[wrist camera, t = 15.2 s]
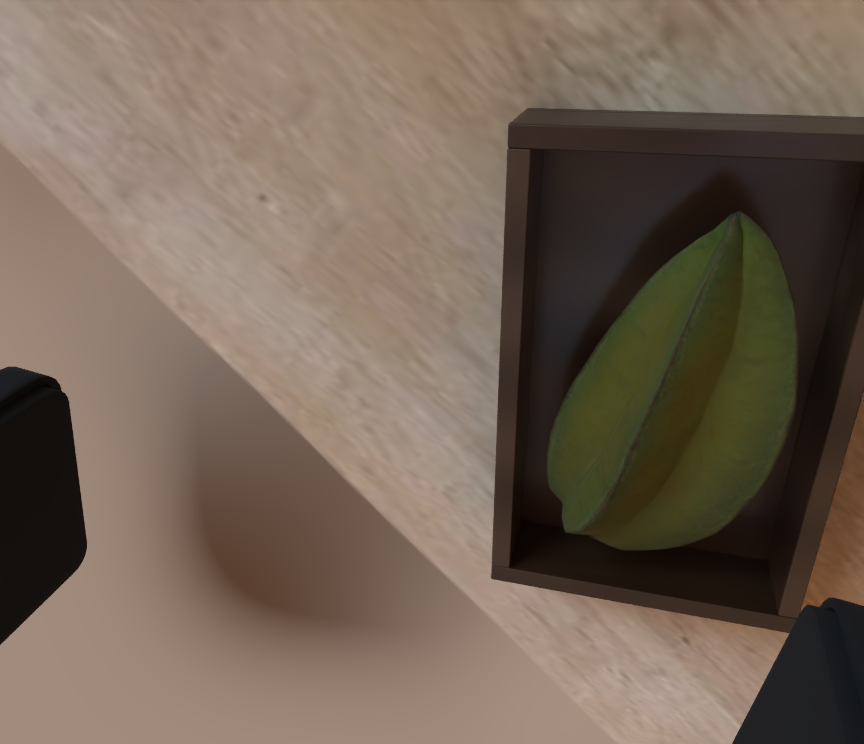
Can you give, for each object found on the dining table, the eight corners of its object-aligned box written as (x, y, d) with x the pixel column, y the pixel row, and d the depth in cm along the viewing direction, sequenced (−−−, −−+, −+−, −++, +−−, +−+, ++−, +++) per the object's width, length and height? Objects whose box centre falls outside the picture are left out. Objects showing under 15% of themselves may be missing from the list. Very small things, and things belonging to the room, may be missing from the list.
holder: (527, 107, 28) (508, 123, 25) (898, 117, 25) (937, 137, 22) (507, 523, 37) (491, 579, 33) (780, 568, 34) (794, 634, 30)
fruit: (891, 528, 26) (828, 406, 31) (801, 267, 20) (742, 169, 25) (590, 606, 30) (578, 487, 36) (442, 410, 25) (454, 301, 30)
